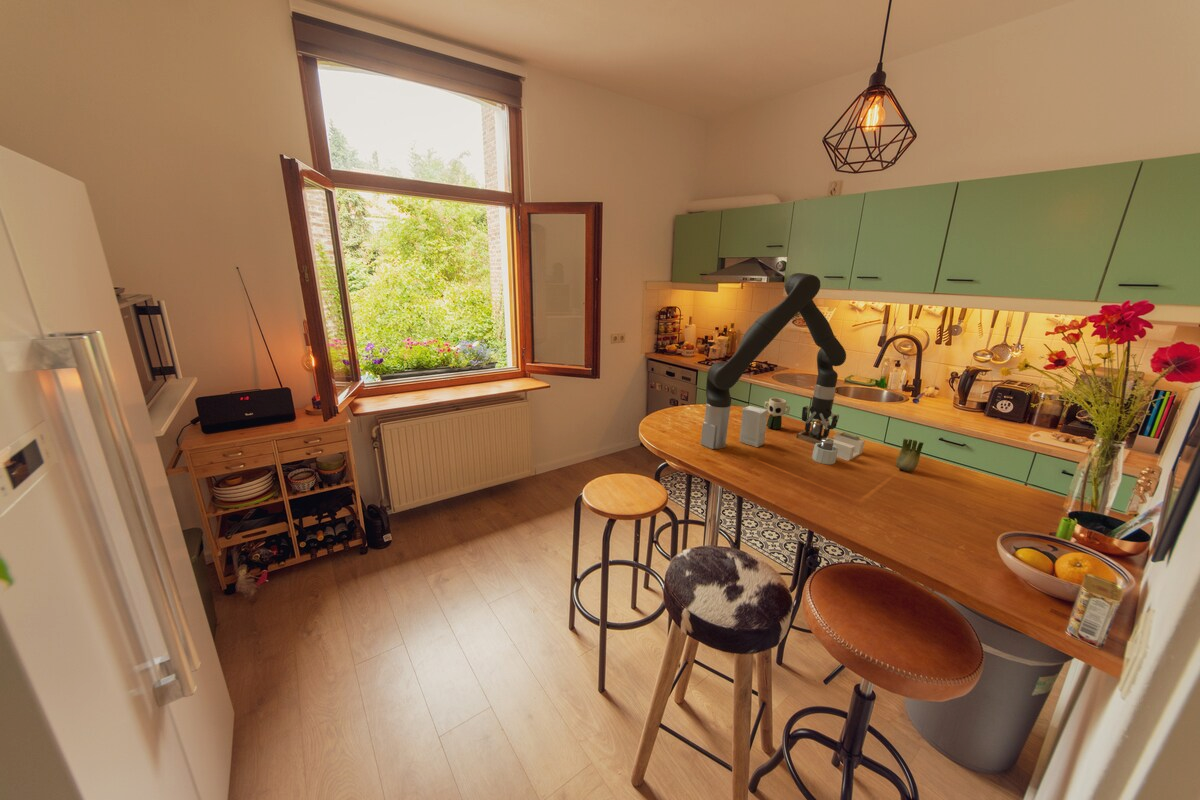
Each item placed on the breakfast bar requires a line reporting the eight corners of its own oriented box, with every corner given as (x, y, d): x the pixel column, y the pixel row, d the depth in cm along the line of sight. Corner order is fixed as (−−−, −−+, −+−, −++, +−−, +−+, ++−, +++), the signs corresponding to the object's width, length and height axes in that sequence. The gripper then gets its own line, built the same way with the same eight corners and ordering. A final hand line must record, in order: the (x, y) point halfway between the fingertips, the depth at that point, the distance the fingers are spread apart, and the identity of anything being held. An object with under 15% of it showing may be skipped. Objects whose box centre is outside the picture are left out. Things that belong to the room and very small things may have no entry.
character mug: (758, 426, 193) (762, 399, 189) (764, 422, 198) (768, 395, 194) (783, 433, 186) (788, 404, 182) (788, 428, 192) (793, 401, 188)
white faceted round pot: (828, 468, 155) (832, 453, 153) (808, 460, 160) (811, 446, 159) (838, 462, 159) (841, 448, 157) (817, 455, 165) (820, 441, 163)
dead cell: (826, 463, 157) (831, 441, 154) (815, 459, 160) (819, 438, 157) (831, 460, 159) (835, 439, 157) (820, 456, 162) (824, 435, 160)
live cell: (817, 442, 175) (821, 423, 172) (807, 439, 178) (811, 420, 175) (821, 440, 177) (826, 421, 175) (812, 437, 180) (816, 418, 178)
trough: (824, 449, 171) (826, 443, 170) (795, 439, 180) (796, 433, 179) (833, 444, 175) (834, 439, 175) (804, 435, 184) (805, 430, 184)
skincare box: (764, 444, 174) (769, 409, 169) (757, 448, 170) (762, 413, 165) (745, 438, 180) (749, 404, 175) (737, 441, 176) (742, 407, 171)
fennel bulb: (916, 472, 154) (925, 441, 150) (910, 475, 152) (918, 443, 148) (899, 465, 159) (907, 435, 155) (892, 468, 156) (900, 438, 153)
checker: (848, 462, 160) (852, 445, 157) (821, 453, 167) (824, 436, 165) (861, 454, 167) (865, 438, 165) (835, 446, 174) (838, 430, 172)
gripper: (801, 393, 174) (794, 431, 180) (838, 402, 164) (829, 442, 169) (810, 390, 179) (803, 427, 184) (846, 398, 168) (838, 438, 173)
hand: (816, 434), depth 177 cm, fingers open, 6 cm apart
